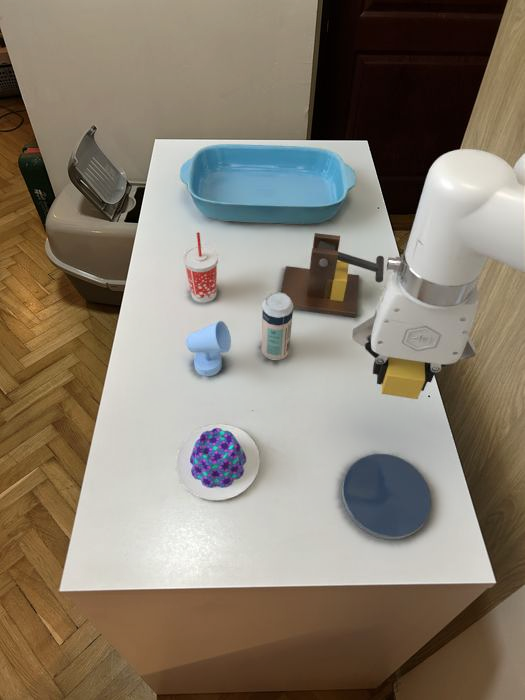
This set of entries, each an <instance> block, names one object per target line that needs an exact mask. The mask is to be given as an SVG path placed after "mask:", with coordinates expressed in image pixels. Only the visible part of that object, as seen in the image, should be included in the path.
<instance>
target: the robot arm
mask: <svg viewBox="0 0 525 700" xmlns="http://www.w3.org/2000/svg"><path fill="white" fill-rule="evenodd" d="M427 172H428V173H427V175H426V177H425V181H424V185H423V188H422V192H421V195H420V199H419V202H418V206H417V209H416V213H415V217H414V219H413V222H412V223H413V224H412V227H411V231H410V234H409V237H408V240H407V244H406V247H404V250H403V253H402V254H400V255H399V256H396V257H389V256H388V257H387V263H386V271H390V272H391V271H392V274H391V275H390V277H389V278H388V280H387V282H386V284H385V286H384V289H383V290H382V293H381V295H380V298H379V300H378V303H377V306H376V308H375V311H374V314H373V316H371V317H370V318H368V319H367V320H365V321H364V322H362V323H360V324H359V325H357V326H356V327H354V328H353V329H352V335H351V339H352V340H353V341H354V342H356V343H357V344H359V345H360V346H361V347H364V349H365V350H366V352H368V353H369V354H370V355H371V356H372V357H373V358H374V361H373V364H372V365H373V366H372V374H373V375H376V385H381V386H382V383H383V380H384V377H385V374H386V371H387V368H388V360H389V357H393V358H400V359H406V360H413V361H420V362H425V382H424V385H423V387H422V389H421V392H424V391H425V389H426V386H427V384H428V383H432V381H433V378H434V377H435V374H436V373H439V372H441V370H442V368H444V367H447V366H449V365H452V364H455V363H457V362H458V361H459V360H460V361H462V360H465V359H470V358H473V357H474V358H475V356H476V354H477V353H476V345H475V343H474V342H473V340H472V338H471V336H470V334H471V331H472V328H473V324H474V321H475V317H476V315H477V311H478V310H477V309H478V305H479V299H480V298H479V297H480V294H479V290H478V285H477V282H478V280H479V277H480V275H481V273H482V271H483V269H484V266H485V264H486V262H487V260H488V258H489V259H491V260H494V261H496V262H498V263H501V264H503V265H505V266H508V267H510V268H512V269H514V270H516V271H519V272H521V273H523V274H525V152H524V153H523V154H522V155H521V156H520V158H518V160H517V161H516V162H515V164H514V166H513V167H512V166H511V165H510V164H509V163H508V162H507V161H506V160H505V159H503V158H501V157H500V156H498V155H496V154H494V153H492V152H488V151H486V150H480V149H473V148H460V149H454V150H452V151H447V152H446V153H443V154H442V155H440V156H439V157H438V158H437V159H436V160H435V161H434V162H433V163H432V165H431V166H430V168H429V169H428V171H427Z"/></svg>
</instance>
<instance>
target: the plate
mask: <svg viewBox="0 0 525 700" xmlns="http://www.w3.org/2000/svg"><path fill="white" fill-rule="evenodd" d="M341 497H342V502H343V506H344V508H345V510H346V512H347V514H348V516H349V518H350V519H351V520H352V522H353V523H354V524H355V525H356V526H357V527H358V528H360V529H361V530H362V531H364V532H366V534H369V535H371V536H373V537H377V538H378V539H383V540H390V541H391V540H392V541H393V540H401V539H404V538H407V537H410V536H412V535H414V534H415V533H417V532H418V531H419V530H420V529H421V528H422V527H423V525H424V524H425V522H426V521H427V519H428V517H429V514H430V513H431V506H432V495H431V491H430V489H429V485H428V483H427V481H426V479H425V478H424V476H423V475H422V474H421V473H420V471H419V470H418V469H417V468H416V467H415V466H414V465H413V464H411V463H410V462H409V461H407V460H405V459H403V458H401V457H398V456H395V455H393V454H387V453H374V454H369V455H366V456H364V457H362V458H359V459H358V460H356V461H355V462H354V463H353V464H352V465H351V466H350V467H349V468H348V471H347V472H346V474H345V476H344V480H343V483H342V487H341Z"/></svg>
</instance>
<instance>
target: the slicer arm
mask: <svg viewBox="0 0 525 700" xmlns="http://www.w3.org/2000/svg"><path fill="white" fill-rule="evenodd" d="M317 249H324V250H332V251H335V245H333V244H330V243H327V242H324V241H320V242H319V244H318V247H317ZM337 261H342V262H345V263H348V264H349V265H352V266H355V267H357V268H362V269H364V270H369V271H371V272H374V273H375V275H374V276H375V278H374V279H375V282H376V283H380V284H381V283H383V281H384V273H385V272H384V269H385V257H384V256H383V255H378V256H377V257H376V258H375V262H373V261H370V260H367V259H363V258H361V257H356V256H354V255H350V254H347V253H345V252H341V251H338V259H337Z"/></svg>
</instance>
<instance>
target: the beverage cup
mask: <svg viewBox="0 0 525 700" xmlns="http://www.w3.org/2000/svg"><path fill="white" fill-rule="evenodd" d="M196 240H197V241H196V242H197V245H193V246H190V247H189V248H187V249H186V250H185V251H184V253H183V254H182V263H183V265H184V267H185V271H186V276H187V281H188V285H189V289H190V294H191V297H192V299H193V300H194V301H195V302H198V303H209V302H212V301H213V300H214V299H215V298H216V296H217V282H218V281H217V275H218V274H217V272H218V271H217V269H218V268H217V267H218V264H219V254H218V252H217V250H216V249H214V248H213V247H212V246H208V245H206V244H205V245H204V244H203V245H202V243H201V233H200V232H196Z"/></svg>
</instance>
